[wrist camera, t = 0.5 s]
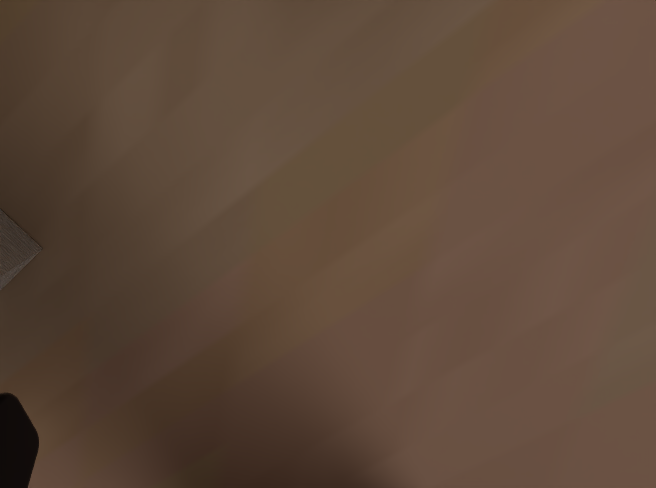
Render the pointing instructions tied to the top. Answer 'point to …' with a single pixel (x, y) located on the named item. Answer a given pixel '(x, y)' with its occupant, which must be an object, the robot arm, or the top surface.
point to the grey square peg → (14, 249)
